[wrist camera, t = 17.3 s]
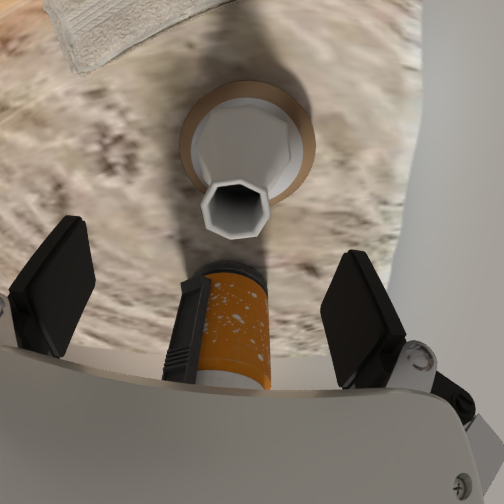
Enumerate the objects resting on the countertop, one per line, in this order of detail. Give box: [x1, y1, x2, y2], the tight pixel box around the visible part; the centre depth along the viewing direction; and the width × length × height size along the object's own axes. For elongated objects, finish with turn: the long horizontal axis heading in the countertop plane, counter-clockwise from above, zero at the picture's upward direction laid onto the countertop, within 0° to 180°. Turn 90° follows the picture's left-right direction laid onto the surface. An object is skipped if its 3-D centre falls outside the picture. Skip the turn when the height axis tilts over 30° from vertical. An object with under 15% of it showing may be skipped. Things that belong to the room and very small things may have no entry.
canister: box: [162, 262, 271, 390], centre depth 26 cm, size 9×11×20 cm
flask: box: [195, 104, 291, 240], centre depth 17 cm, size 7×7×10 cm
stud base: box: [180, 81, 316, 205], centre depth 23 cm, size 11×11×4 cm
